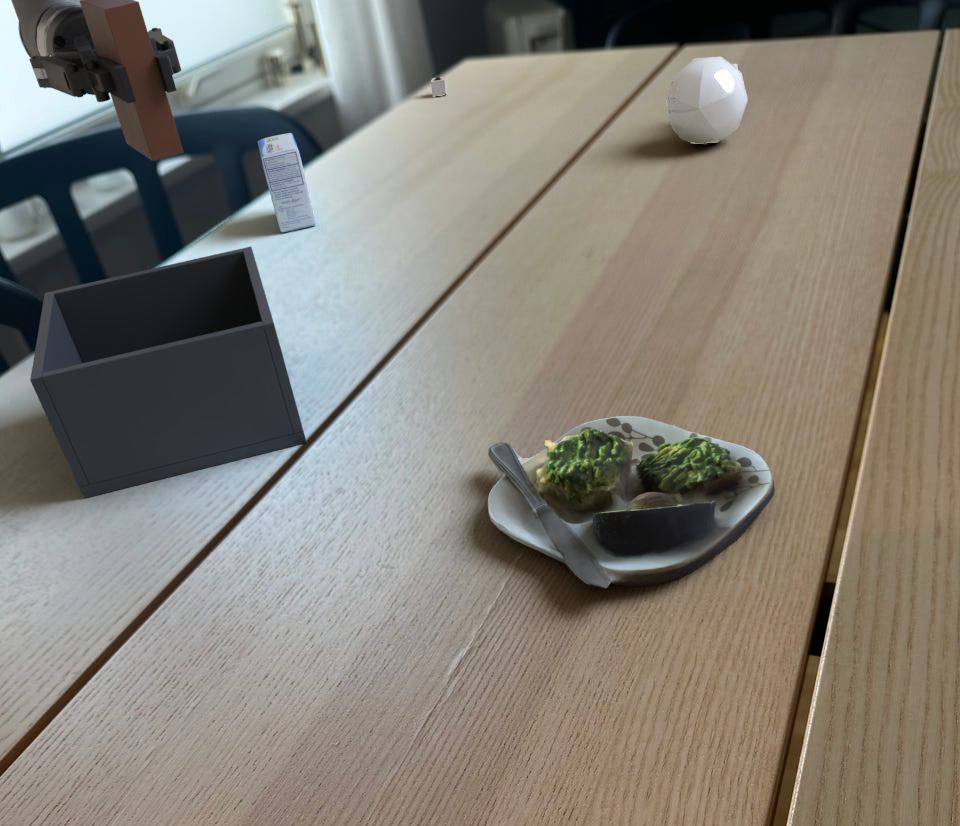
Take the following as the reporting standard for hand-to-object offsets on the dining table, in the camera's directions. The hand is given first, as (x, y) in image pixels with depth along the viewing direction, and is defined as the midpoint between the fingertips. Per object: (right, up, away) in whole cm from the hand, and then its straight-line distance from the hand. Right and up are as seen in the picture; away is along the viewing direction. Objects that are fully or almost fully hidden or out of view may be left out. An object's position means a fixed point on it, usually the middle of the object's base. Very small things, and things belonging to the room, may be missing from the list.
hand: (147, 79), depth 88 cm
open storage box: (+4, -30, -2) cm, 30 cm away
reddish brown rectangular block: (-2, -2, +8) cm, 8 cm away
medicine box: (+7, +2, +35) cm, 35 cm away
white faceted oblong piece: (+57, +14, +38) cm, 70 cm away
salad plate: (+39, -40, -20) cm, 59 cm away
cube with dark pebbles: (+23, +37, +72) cm, 84 cm away
